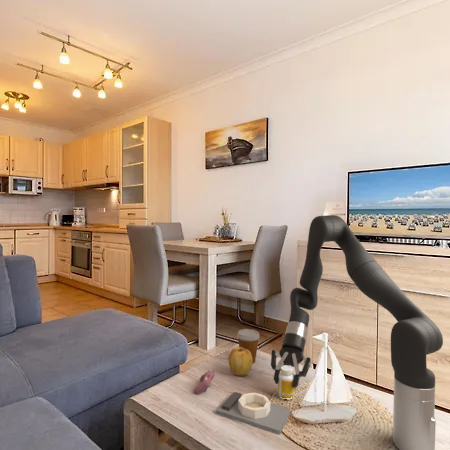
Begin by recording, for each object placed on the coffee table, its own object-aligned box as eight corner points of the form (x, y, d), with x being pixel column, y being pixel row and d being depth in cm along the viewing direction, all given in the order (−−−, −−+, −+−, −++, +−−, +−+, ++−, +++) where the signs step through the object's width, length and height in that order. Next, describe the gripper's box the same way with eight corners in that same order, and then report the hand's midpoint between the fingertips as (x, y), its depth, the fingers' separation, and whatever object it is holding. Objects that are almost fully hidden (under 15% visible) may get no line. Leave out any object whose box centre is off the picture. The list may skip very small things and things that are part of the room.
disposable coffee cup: (258, 367, 128) (259, 337, 128) (235, 365, 130) (235, 335, 130) (259, 357, 138) (260, 329, 138) (237, 355, 139) (238, 327, 139)
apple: (252, 369, 126) (253, 344, 126) (251, 380, 117) (251, 353, 117) (229, 367, 127) (230, 342, 127) (226, 378, 118) (227, 351, 118)
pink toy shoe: (203, 400, 106) (213, 383, 106) (191, 393, 107) (201, 375, 106) (210, 385, 116) (219, 369, 115) (199, 379, 117) (208, 362, 116)
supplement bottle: (274, 394, 108) (275, 366, 108) (287, 390, 110) (287, 363, 110) (285, 402, 103) (285, 373, 103) (297, 398, 106) (298, 369, 106)
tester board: (291, 411, 98) (292, 400, 98) (279, 434, 88) (280, 421, 88) (233, 394, 107) (233, 384, 107) (215, 413, 97) (216, 401, 97)
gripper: (273, 328, 116) (261, 375, 106) (314, 335, 110) (305, 386, 99) (278, 338, 121) (266, 384, 111) (316, 346, 115) (308, 395, 104)
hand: (284, 384), depth 105 cm, fingers closed on supplement bottle, 5 cm apart
